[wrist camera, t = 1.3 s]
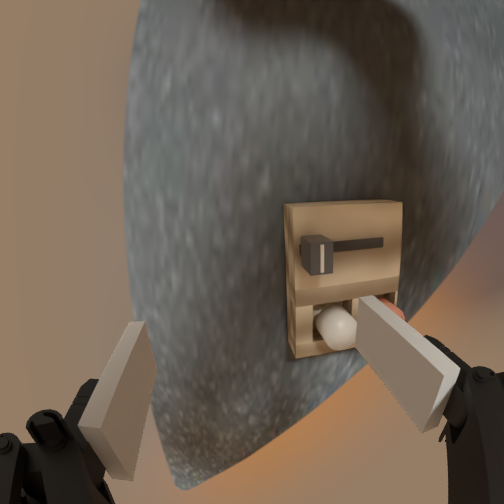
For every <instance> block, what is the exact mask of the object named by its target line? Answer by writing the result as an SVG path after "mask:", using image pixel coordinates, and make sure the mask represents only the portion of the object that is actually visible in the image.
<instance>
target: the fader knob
mask: <svg viewBox="0 0 504 504" xmlns="http://www.w3.org/2000/svg"><path fill="white" fill-rule="evenodd" d="M301 266H302V267H303V268H304V269H305V270H306V271H307V272H308V273H309V275H310V276H315V275H324V274H332V273H333V241H332V240H330V239H328V238H327V237H325V236H323V235H309V236H301Z"/></svg>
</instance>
